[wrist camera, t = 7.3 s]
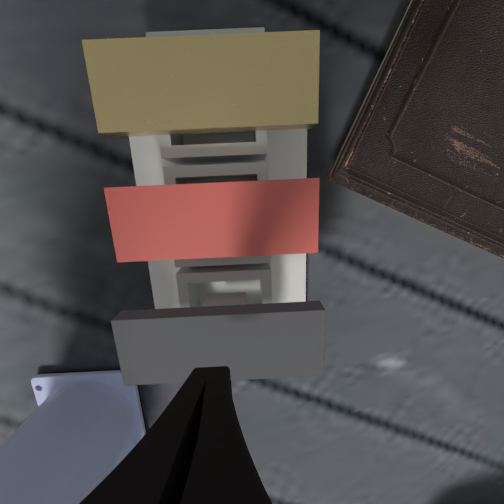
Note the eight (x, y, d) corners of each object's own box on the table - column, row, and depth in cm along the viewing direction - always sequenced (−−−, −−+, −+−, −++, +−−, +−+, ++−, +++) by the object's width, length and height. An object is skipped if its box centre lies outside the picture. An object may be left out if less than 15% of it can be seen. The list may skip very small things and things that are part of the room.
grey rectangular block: (305, 331, 16) (323, 375, 13) (153, 339, 16) (123, 385, 13) (305, 279, 16) (325, 310, 12) (144, 287, 16) (110, 320, 12)
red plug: (301, 237, 16) (318, 252, 13) (148, 244, 16) (117, 262, 12) (301, 180, 16) (319, 177, 12) (139, 188, 15) (103, 187, 12)
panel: (303, 325, 20) (315, 352, 16) (161, 332, 19) (144, 361, 16) (305, 56, 15) (321, 19, 12) (122, 64, 15) (86, 29, 12)
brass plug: (300, 140, 15) (318, 123, 11) (136, 147, 15) (98, 133, 11) (300, 72, 14) (319, 30, 11) (126, 80, 14) (81, 39, 11)
